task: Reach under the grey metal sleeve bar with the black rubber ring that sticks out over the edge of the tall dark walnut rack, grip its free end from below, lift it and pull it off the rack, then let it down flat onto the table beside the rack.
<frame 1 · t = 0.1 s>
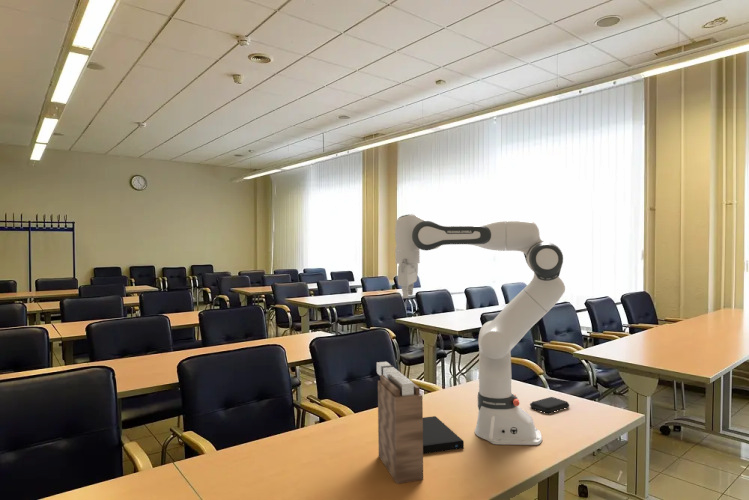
hand: (407, 296, 173), 48 cm above the table, tool pointing down, fingers open, 8 cm apart
black microchip: (548, 409, 192), on the table
external hard drive: (430, 439, 163), on the table
walnut rack: (399, 467, 142), on the table
sleeve bar: (393, 383, 146), point 24 cm above the table, touching walnut rack
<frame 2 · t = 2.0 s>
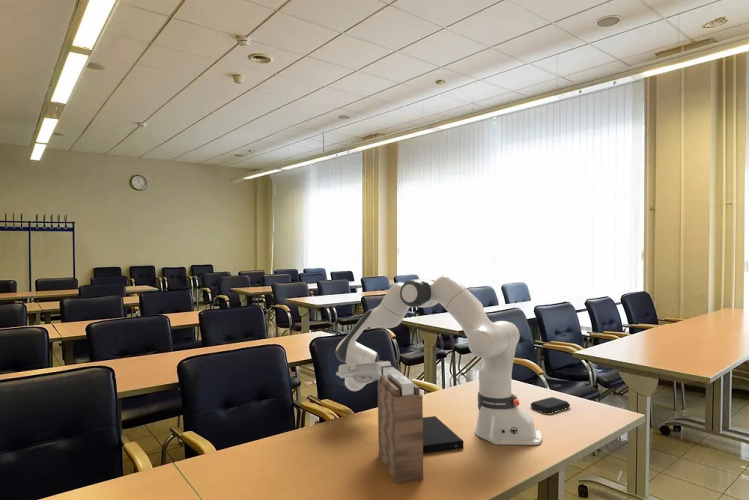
hand: (369, 363, 174), 23 cm above the table, tool pointing upward, fingers open, 8 cm apart
nothing on the table moved.
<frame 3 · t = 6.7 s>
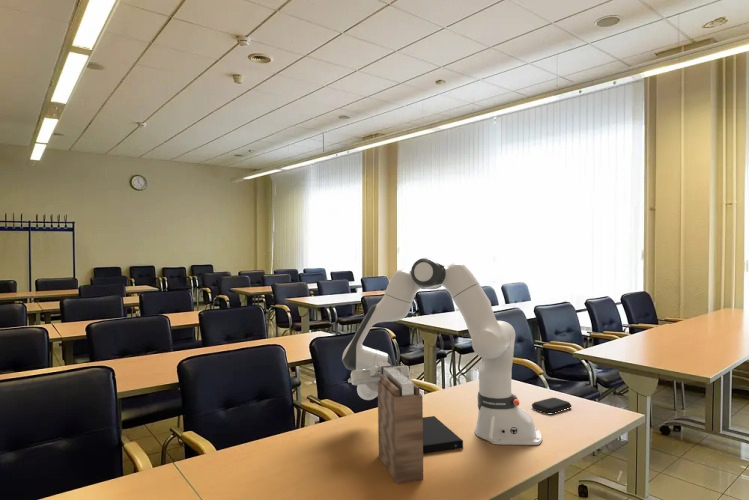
hand: (385, 368, 155), 26 cm above the table, tool pointing upward, fingers closed on sleeve bar, 3 cm apart
sleeve bar: (393, 383, 146), point 24 cm above the table, touching gripper, walnut rack
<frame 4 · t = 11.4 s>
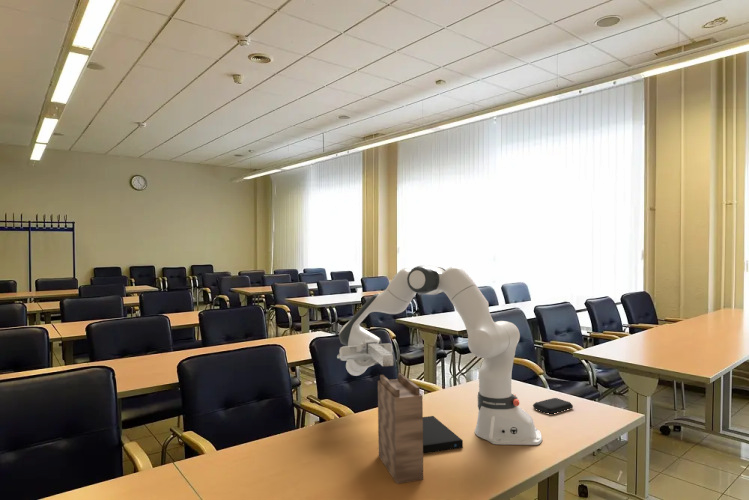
hand: (370, 345, 172), 30 cm above the table, tool pointing upward, fingers closed on sleeve bar, 3 cm apart
sleeve bar: (376, 356, 164), point 28 cm above the table, touching gripper
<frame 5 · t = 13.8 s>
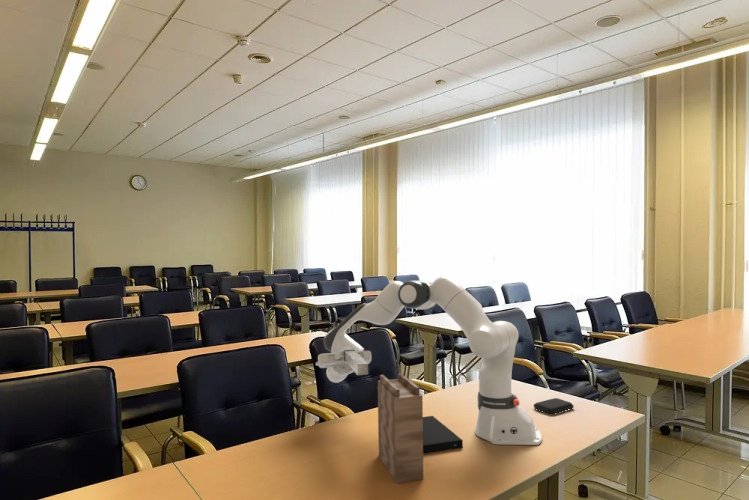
hand: (348, 352, 172), 28 cm above the table, tool pointing upward, fingers closed on sleeve bar, 3 cm apart
sleeve bar: (353, 364, 163), point 26 cm above the table, touching gripper
when the fingers open (19 cm above the table, at t = 15.9 s): sleeve bar drops 17 cm, on the table.
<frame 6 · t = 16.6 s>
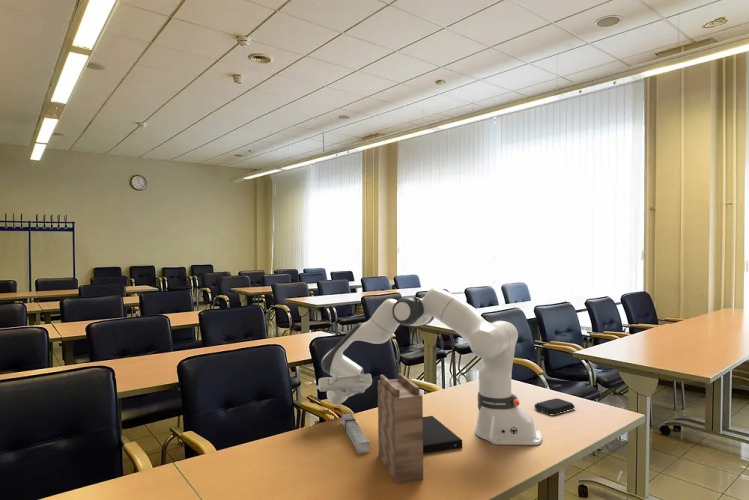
hand: (348, 376, 172), 19 cm above the table, tool pointing upward, fingers open, 8 cm apart
sleeve bar: (354, 437, 164), on the table
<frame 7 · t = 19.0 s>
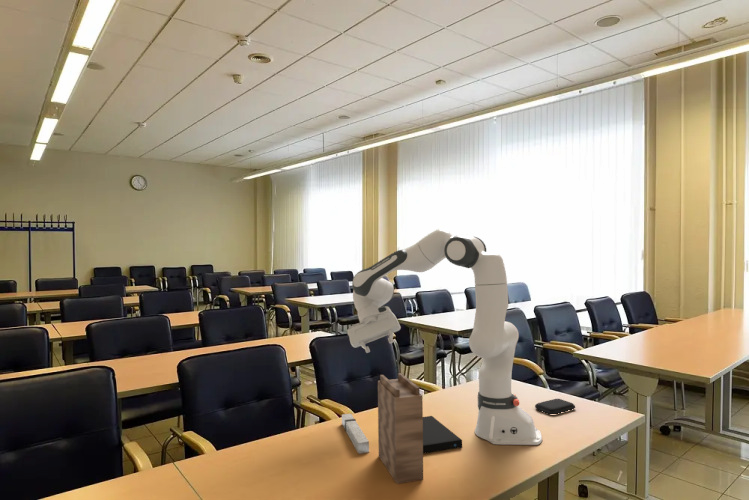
hand: (379, 347, 177), 29 cm above the table, tool tilted 50°, fingers open, 8 cm apart
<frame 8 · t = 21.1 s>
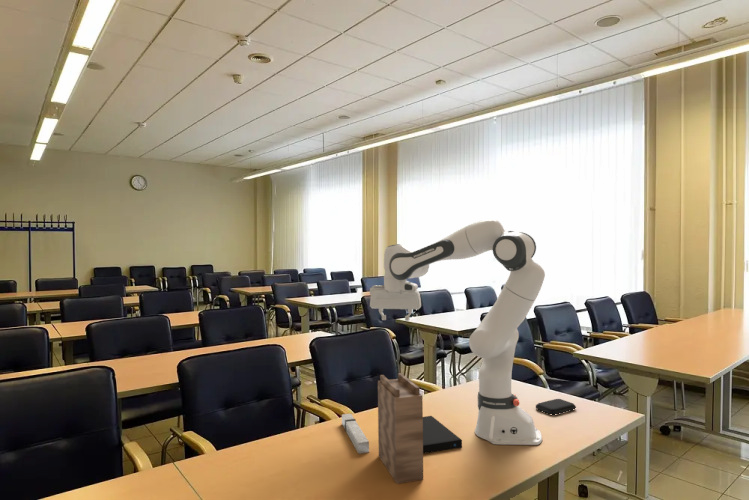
hand: (395, 320, 186), 37 cm above the table, tool pointing down, fingers open, 8 cm apart
at the end: sleeve bar inside the target area (0.4 cm from its centre), on the table; the gripper is holding nothing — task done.
